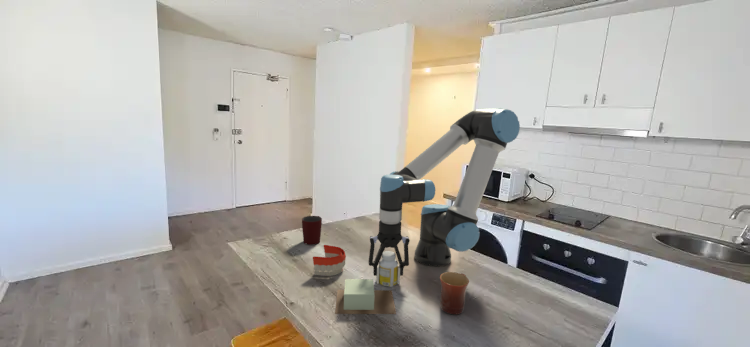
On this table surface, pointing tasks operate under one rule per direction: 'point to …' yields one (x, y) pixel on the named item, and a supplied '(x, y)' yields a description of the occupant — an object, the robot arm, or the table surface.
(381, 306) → the plate
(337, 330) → the table surface
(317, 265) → the denture model
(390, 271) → the pill bottle
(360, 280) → the brick
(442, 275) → the mug
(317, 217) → the mug
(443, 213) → the robot arm
